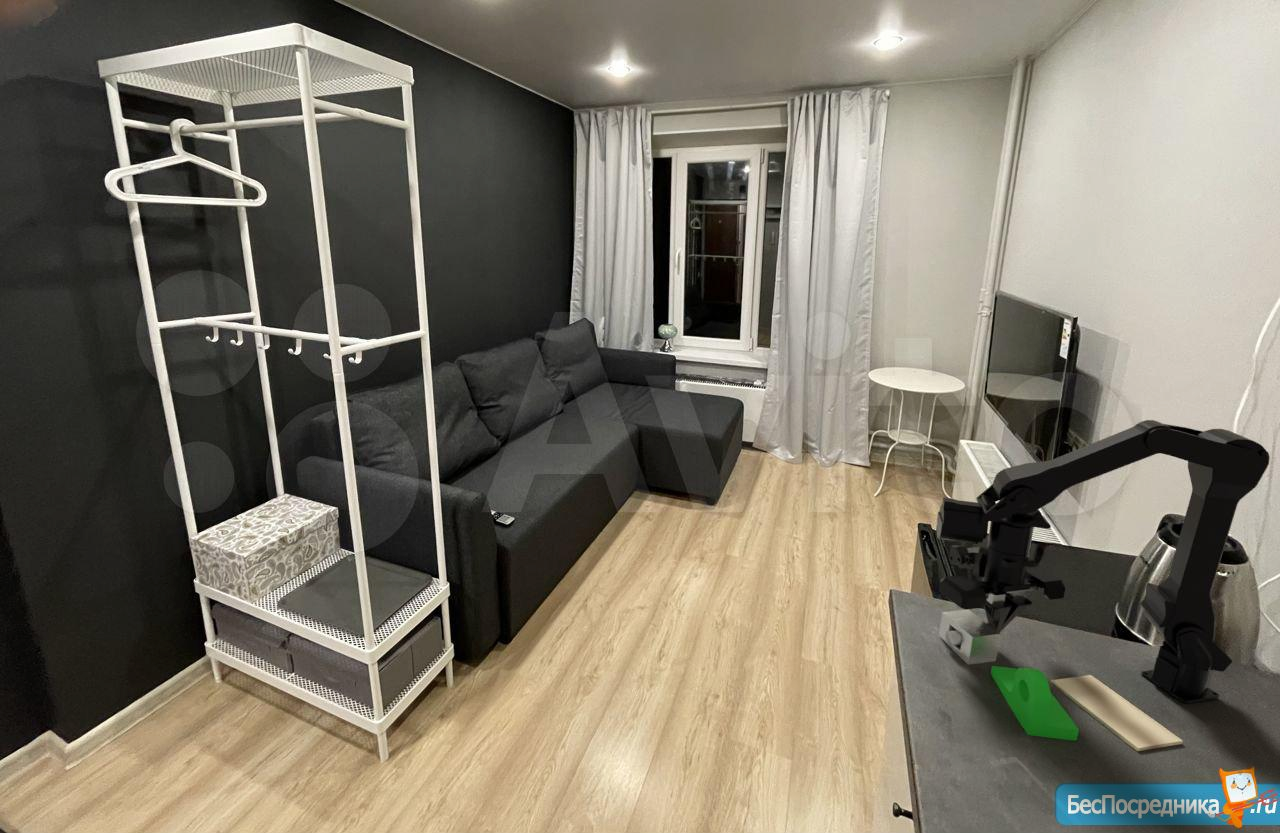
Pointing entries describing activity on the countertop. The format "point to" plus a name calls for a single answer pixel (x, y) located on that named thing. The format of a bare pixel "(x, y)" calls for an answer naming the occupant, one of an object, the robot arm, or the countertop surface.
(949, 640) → the shaft
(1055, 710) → the mechanical part
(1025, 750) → the countertop surface
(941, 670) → the countertop surface
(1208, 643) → the robot arm
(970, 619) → the bearing block
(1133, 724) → the beige wooden board
